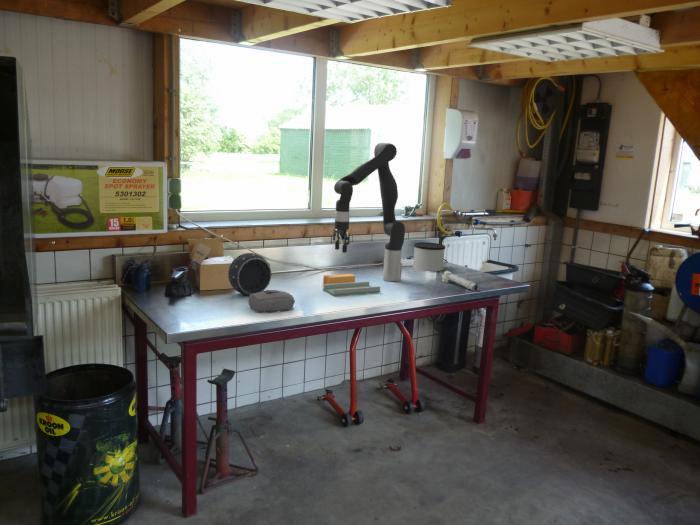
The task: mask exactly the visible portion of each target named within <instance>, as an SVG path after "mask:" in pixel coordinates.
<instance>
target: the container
mask: <svg viewBox="0 0 700 525" xmlns="http://www.w3.org/2000/svg"><path fill="white" fill-rule="evenodd" d="M413 246H414V252H413V261H412V262H413V264H412V268H414V269H413V270H415V269H417V270H416V271H419V270H421V271H420V272H425V271H440V270H444V258H445V250H446V245H444V244H442V243H437V242H424V241H421V242H419V241H418V242H415V243H414V244H413ZM440 272H441V271H440Z"/></svg>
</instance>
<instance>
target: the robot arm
mask: <svg viewBox="0 0 700 525" xmlns="http://www.w3.org/2000/svg"><path fill="white" fill-rule="evenodd" d="M373 149H374V150H373V153H374V155H373V157H372V158H371V159H369V160H367V161H366V162H364V163H361V164H360V165H358V166H357V167H356V168H355V169H353V170H352V171H351V172H350V173H349V174H347V175H345V176H343V177H341V178H340V179H338V180H337V181H336V182H335V184H334V186H333V189H334V192H335V193H336V194H337V195H340V197H339V199H337V200H336V202H335V213H334V226H333V227H334V229H333V233H332V234H333V235H332V240H333V241H334V249H335V250H337V251H338V250H340V242H341V244H342V250H341V252H342V253H343V254H344V253H347V251H348V246H349V245H350V241H351V240H350V238H351V237H350V232H347V231H349V229H350V218H351V217H350V215H351V214H350V205H351V204H350V203H351V200H352V198H353V194H354V193H353V192H354V187H353V186H357V185H359V184H361V183H362V182H363V181H364V180H366V178H367V177H369V176H370V175H371V174H373V173H375V171H377V174H378V182H379V189H380V190H379V191H380V198H381V207H382V219H383V220H382V223H383V224H382V226H383V232H384V234H385V235H386V236H388V237H389V238H390V239H389V241H388V242H387V243H385V244H384V245H385V246H384V254H383V255H384V256H383V258H384V260H383V272H382V279H383V280H384V281H387V282H399V281H402V271H403V264H402V251H403V250H402V249H403V246H404V243H405V235H406V234H405V233H406V227H405V224H404V223H403V222H402V221H400V220H396V219H397V218H396V212H395V210H396V209H395V208H396V205H397V202H398V199H399V192H398V191H399V190H398V184H397V181H396V179H395V177H394V175H393V173H392V171H391V169H390V164H389V162H390V161H392V160H394V159H395V157H397V152H398V151H397V150H398V149H397V147H396V145H394V144H393V143H389V142H379V143H377V144H376V145H375V146H374V148H373Z"/></svg>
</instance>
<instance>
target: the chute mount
mask: <svg viewBox="0 0 700 525" xmlns="http://www.w3.org/2000/svg"><path fill="white" fill-rule="evenodd" d="M322 290H323V291H324V292H325V293H327V294H330V295H332V296H333V297H343V296H344V297H345V296H356V295H355V294H358V295H367V293H370V294H380V293H381V286H378V285H377V286H371V285H370V281H355V282H351V283H337V284H324V285H323V288H322ZM379 292H380V293H379Z"/></svg>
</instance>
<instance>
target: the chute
mask: <svg viewBox="0 0 700 525" xmlns="http://www.w3.org/2000/svg"><path fill="white" fill-rule="evenodd" d="M351 282H356V275H354V274H352V273H345V274H326V275H325V274H324V275H323V277H322V285H323V286H324V284H337V283H351Z"/></svg>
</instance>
